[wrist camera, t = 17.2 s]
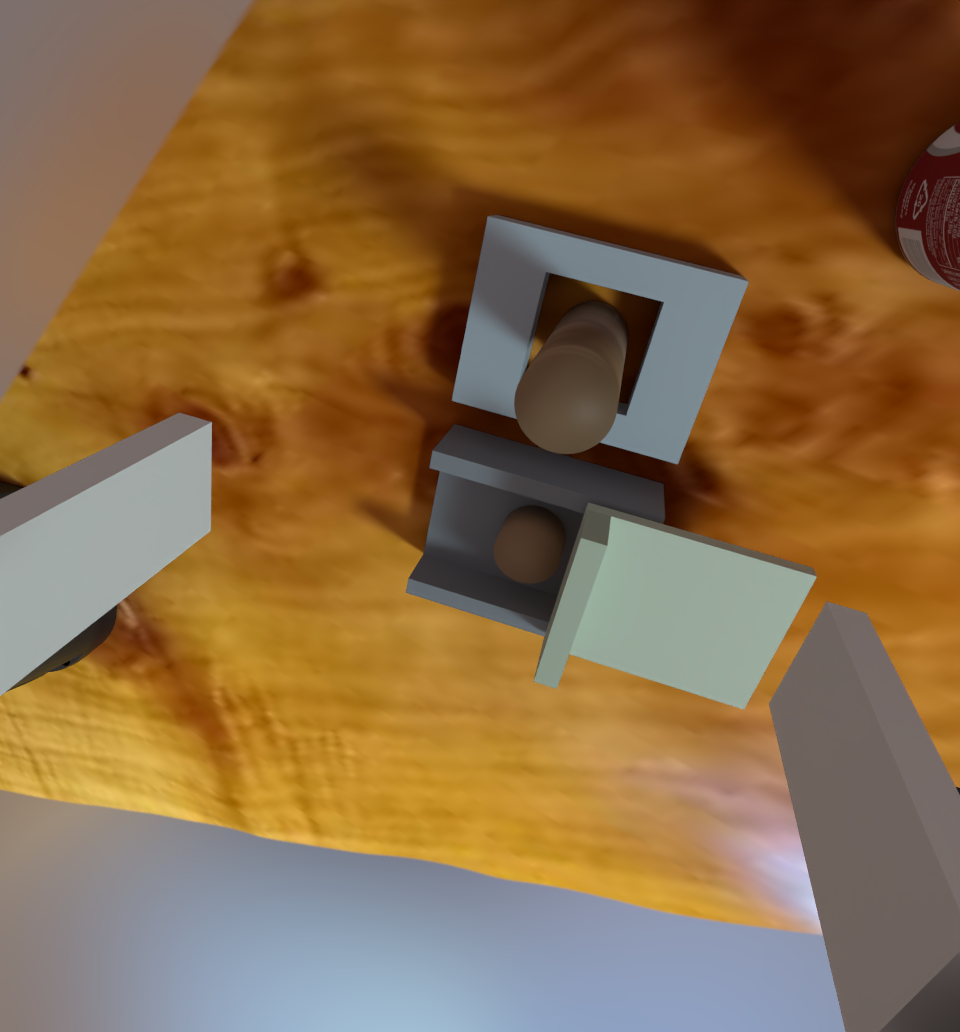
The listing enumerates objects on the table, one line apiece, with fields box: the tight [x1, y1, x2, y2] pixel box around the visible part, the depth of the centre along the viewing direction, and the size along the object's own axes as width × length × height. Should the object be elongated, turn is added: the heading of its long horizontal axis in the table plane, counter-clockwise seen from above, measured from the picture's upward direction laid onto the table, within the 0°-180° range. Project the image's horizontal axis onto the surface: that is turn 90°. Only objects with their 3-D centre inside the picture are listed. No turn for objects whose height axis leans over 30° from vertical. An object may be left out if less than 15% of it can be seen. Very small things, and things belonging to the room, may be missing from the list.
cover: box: [534, 502, 817, 709], centre depth 32 cm, size 11×9×4 cm
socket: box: [452, 215, 749, 464], centre depth 33 cm, size 12×9×2 cm
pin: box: [514, 300, 628, 454], centre depth 28 cm, size 4×4×12 cm
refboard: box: [406, 424, 665, 636], centre depth 37 cm, size 12×9×4 cm
